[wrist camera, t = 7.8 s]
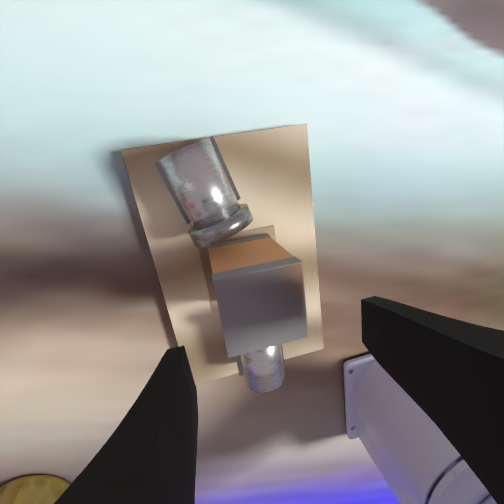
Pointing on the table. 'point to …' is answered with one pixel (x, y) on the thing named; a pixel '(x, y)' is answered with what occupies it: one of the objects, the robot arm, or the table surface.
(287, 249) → the plate
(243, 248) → the orange rectangular block
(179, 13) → the table surface
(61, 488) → the vase
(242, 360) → the shaft
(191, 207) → the shaft
